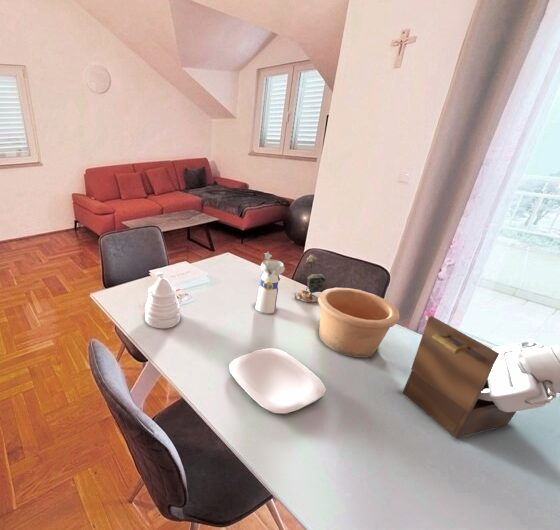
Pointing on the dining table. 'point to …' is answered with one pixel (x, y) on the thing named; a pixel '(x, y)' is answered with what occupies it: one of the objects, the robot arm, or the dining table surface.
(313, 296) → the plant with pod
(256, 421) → the dining table surface
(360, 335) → the pottery
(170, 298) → the honey pot
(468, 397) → the chest lid
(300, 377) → the plate
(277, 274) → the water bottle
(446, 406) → the chest
